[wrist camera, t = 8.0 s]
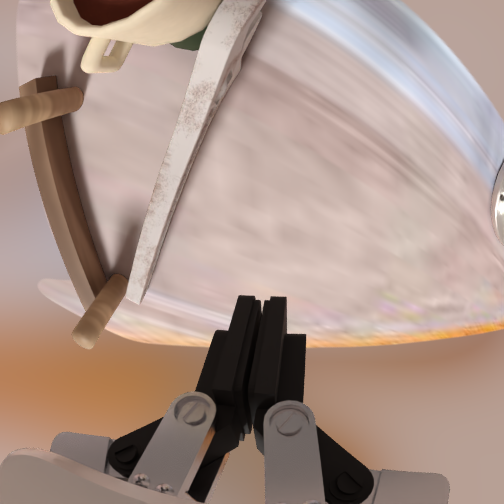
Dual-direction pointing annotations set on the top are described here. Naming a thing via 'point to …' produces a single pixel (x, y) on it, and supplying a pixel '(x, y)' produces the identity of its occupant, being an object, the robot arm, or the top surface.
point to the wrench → (193, 126)
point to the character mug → (133, 26)
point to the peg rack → (64, 198)
